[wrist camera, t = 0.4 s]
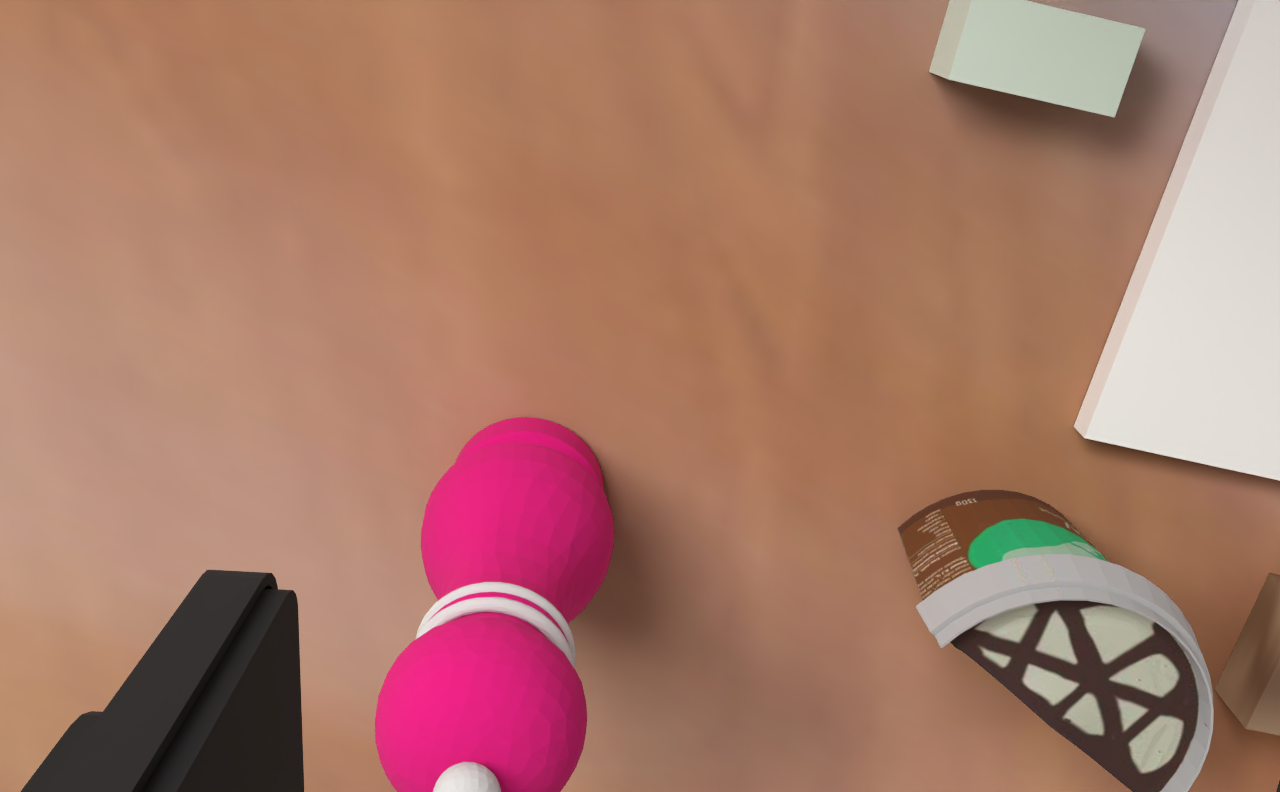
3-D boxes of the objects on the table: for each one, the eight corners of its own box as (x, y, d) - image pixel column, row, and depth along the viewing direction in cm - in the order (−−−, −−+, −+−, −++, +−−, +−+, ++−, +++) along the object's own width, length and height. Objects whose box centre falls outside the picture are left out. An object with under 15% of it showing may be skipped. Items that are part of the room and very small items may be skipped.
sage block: (927, 71, 43) (947, 79, 40) (952, -14, 42) (975, -12, 39) (1083, 107, 44) (1114, 117, 41) (1112, 23, 42) (1145, 28, 40)
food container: (1178, 580, 50) (1304, 724, 41) (1069, 673, 52) (1166, 832, 43) (981, 402, 47) (1067, 513, 38) (872, 507, 49) (929, 638, 40)
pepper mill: (641, 439, 48) (646, 751, 29) (581, 585, 50) (549, 962, 31) (471, 379, 47) (364, 662, 28) (418, 532, 49) (286, 886, 31)
